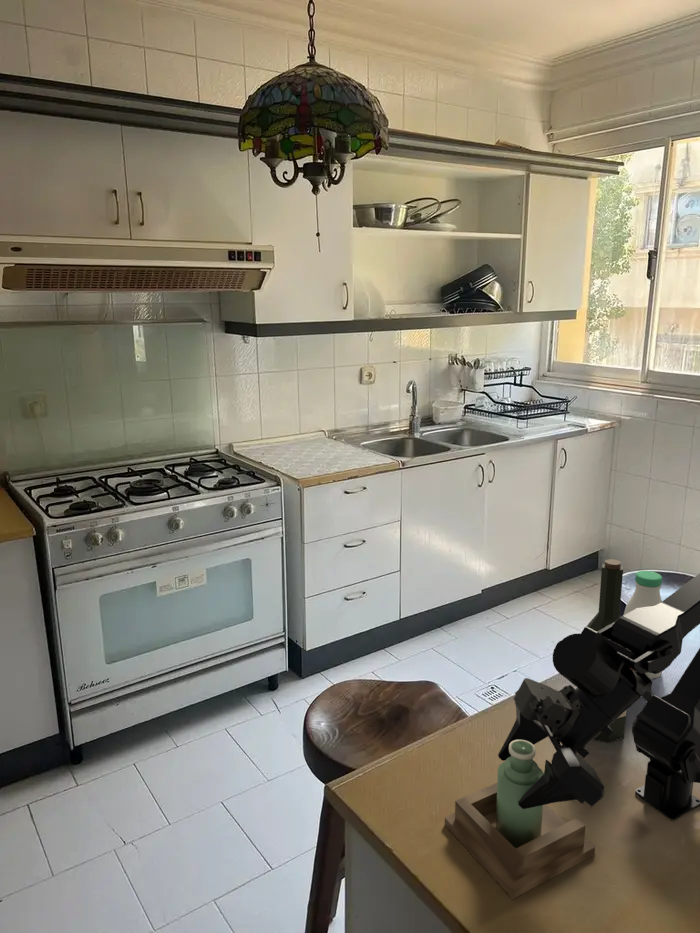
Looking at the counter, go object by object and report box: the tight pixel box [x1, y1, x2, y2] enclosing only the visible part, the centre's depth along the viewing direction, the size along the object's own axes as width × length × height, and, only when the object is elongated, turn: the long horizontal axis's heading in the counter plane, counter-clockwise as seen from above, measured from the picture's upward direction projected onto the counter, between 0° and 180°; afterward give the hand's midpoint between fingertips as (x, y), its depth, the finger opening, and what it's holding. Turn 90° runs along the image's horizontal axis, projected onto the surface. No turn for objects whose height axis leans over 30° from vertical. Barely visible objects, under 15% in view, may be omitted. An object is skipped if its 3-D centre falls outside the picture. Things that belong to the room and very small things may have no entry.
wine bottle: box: [586, 558, 630, 743], centre depth 113 cm, size 8×8×30 cm
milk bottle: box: [623, 570, 663, 680], centre depth 131 cm, size 8×8×20 cm
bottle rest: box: [444, 782, 596, 900], centre depth 92 cm, size 14×14×4 cm
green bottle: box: [496, 740, 544, 848], centre depth 91 cm, size 6×6×13 cm
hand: (509, 781), depth 90 cm, fingers open, 9 cm apart
